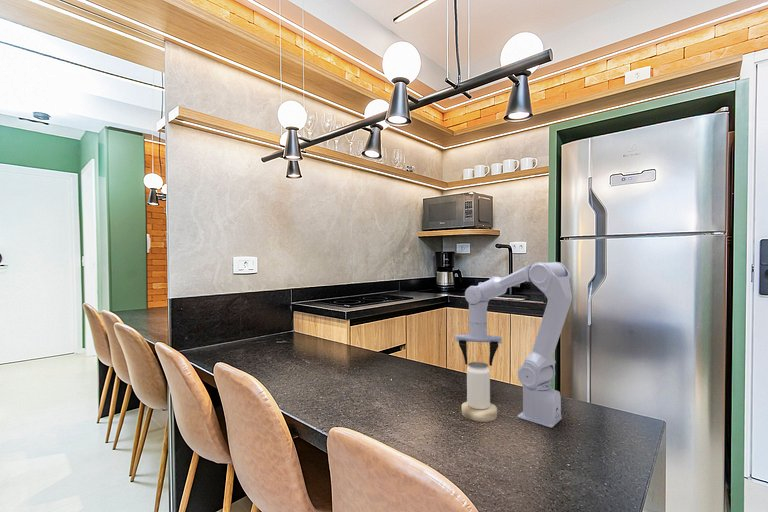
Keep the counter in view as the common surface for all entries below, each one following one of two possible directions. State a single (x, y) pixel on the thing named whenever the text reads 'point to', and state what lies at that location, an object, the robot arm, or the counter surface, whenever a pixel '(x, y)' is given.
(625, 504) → the counter surface
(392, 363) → the counter surface
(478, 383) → the can
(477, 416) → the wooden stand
